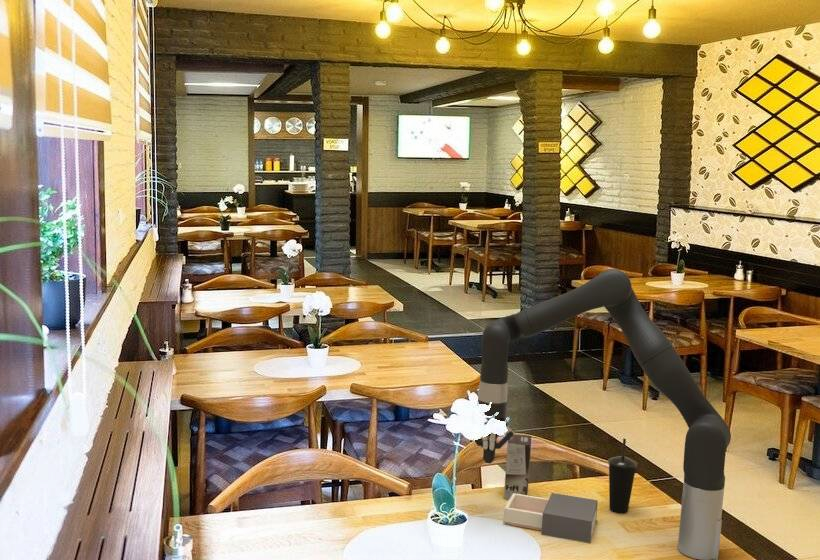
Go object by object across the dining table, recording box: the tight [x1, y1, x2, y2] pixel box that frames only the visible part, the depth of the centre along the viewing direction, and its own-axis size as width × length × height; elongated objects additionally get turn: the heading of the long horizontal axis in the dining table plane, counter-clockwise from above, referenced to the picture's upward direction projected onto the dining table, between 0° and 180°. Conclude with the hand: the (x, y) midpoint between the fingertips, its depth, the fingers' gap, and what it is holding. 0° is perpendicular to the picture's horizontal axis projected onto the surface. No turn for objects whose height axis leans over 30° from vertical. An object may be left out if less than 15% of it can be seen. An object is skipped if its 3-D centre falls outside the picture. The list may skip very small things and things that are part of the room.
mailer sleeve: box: [540, 492, 599, 544], centre depth 208 cm, size 12×14×6 cm
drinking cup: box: [607, 438, 638, 515], centre depth 220 cm, size 8×8×20 cm
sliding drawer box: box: [503, 493, 598, 538], centre depth 210 cm, size 22×11×4 cm, turn 71°
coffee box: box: [503, 433, 532, 500], centre depth 228 cm, size 9×6×16 cm
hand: (488, 462), depth 214 cm, fingers closed
